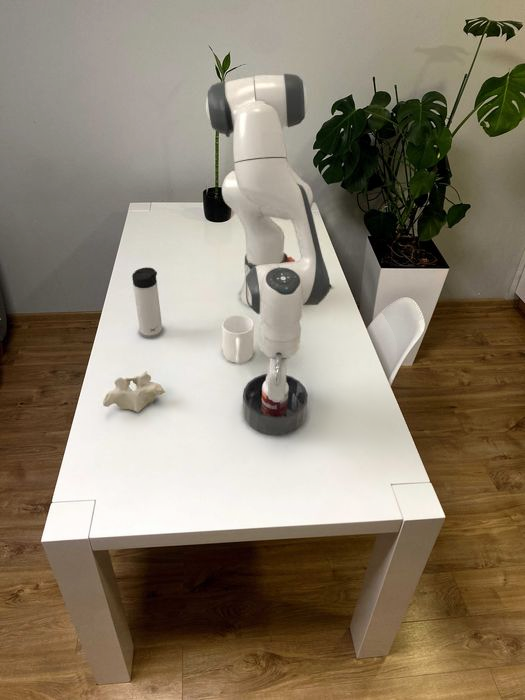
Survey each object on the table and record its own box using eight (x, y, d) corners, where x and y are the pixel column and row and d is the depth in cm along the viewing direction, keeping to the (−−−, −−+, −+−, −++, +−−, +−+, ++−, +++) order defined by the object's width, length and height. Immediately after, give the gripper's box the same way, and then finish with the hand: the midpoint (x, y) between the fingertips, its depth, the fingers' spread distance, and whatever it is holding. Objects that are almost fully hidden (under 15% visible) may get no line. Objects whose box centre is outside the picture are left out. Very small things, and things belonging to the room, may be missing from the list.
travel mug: (159, 340, 152) (151, 279, 140) (136, 336, 153) (127, 276, 141) (166, 326, 157) (160, 267, 144) (145, 323, 158) (136, 263, 145)
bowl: (284, 383, 140) (285, 365, 136) (318, 421, 130) (320, 403, 127) (231, 403, 134) (231, 386, 130) (263, 445, 124) (264, 427, 120)
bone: (164, 406, 134) (165, 384, 129) (111, 428, 128) (109, 406, 122) (148, 381, 139) (148, 360, 133) (96, 401, 132) (93, 379, 127)
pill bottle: (256, 411, 132) (256, 378, 124) (272, 398, 135) (274, 364, 128) (275, 424, 129) (277, 390, 121) (292, 410, 132) (294, 376, 125)
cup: (252, 343, 152) (253, 314, 146) (254, 372, 143) (255, 342, 137) (222, 344, 152) (222, 314, 145) (223, 373, 143) (222, 343, 136)
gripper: (293, 373, 110) (289, 419, 119) (295, 312, 125) (292, 357, 134) (261, 371, 110) (260, 417, 119) (268, 311, 126) (266, 355, 135)
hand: (277, 385), depth 127 cm, fingers open, 8 cm apart
